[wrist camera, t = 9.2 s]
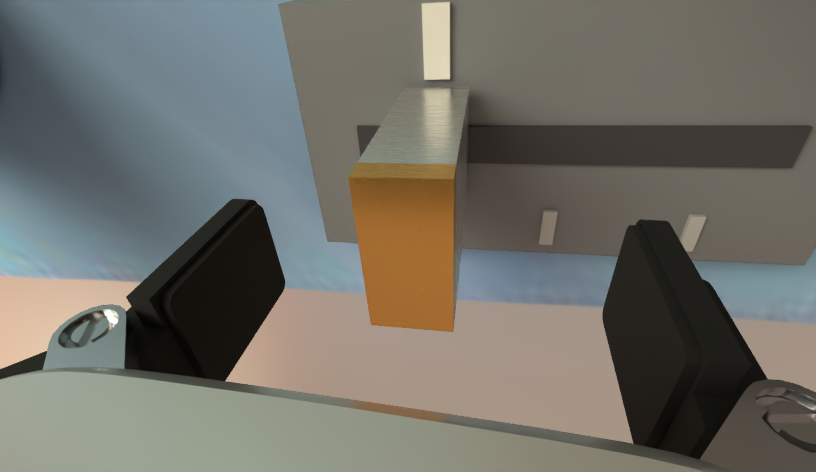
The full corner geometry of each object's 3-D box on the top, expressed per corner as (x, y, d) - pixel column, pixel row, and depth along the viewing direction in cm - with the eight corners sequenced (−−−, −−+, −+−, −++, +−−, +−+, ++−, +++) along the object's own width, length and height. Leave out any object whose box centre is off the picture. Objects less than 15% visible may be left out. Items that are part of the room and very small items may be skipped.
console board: (929, -36, 13) (996, -34, 12) (778, 239, 20) (807, 268, 18) (298, -1, 17) (276, 4, 15) (338, 221, 23) (326, 243, 22)
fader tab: (469, 86, 16) (453, 179, 9) (466, 201, 18) (453, 331, 12) (404, 87, 16) (348, 176, 10) (411, 199, 19) (371, 324, 13)
